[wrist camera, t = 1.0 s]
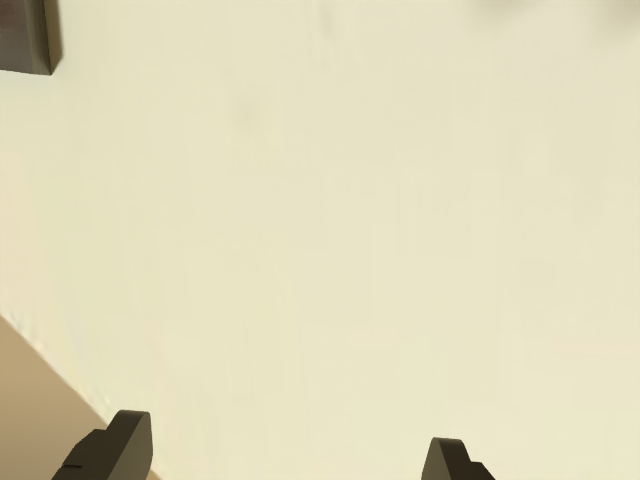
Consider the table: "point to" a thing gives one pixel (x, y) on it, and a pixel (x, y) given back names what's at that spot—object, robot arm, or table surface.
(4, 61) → the console
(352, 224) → the table surface
